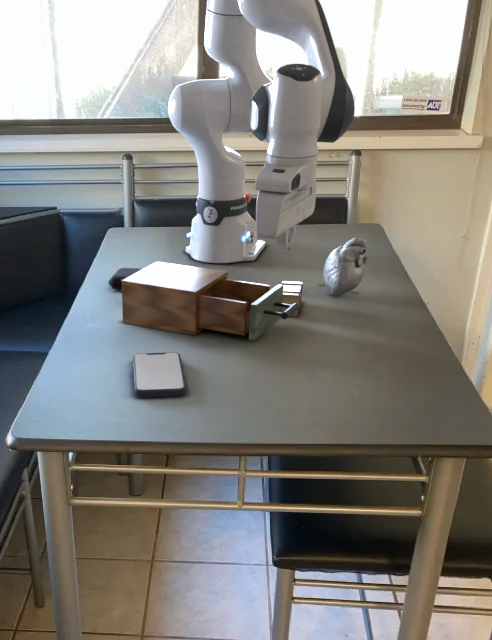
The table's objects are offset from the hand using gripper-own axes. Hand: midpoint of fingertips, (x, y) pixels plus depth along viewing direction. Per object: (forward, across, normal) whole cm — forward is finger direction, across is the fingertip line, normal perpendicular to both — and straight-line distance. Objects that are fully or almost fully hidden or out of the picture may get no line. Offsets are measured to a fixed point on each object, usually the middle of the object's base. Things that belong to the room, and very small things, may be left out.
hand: (284, 251), depth 152 cm
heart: (+16, -28, +3) cm, 33 cm away
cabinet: (+16, +2, -22) cm, 27 cm away
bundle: (+16, -13, -3) cm, 21 cm away
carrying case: (+16, -12, -38) cm, 43 cm away
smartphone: (+15, +30, -10) cm, 36 cm away
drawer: (+15, +2, -7) cm, 16 cm away
